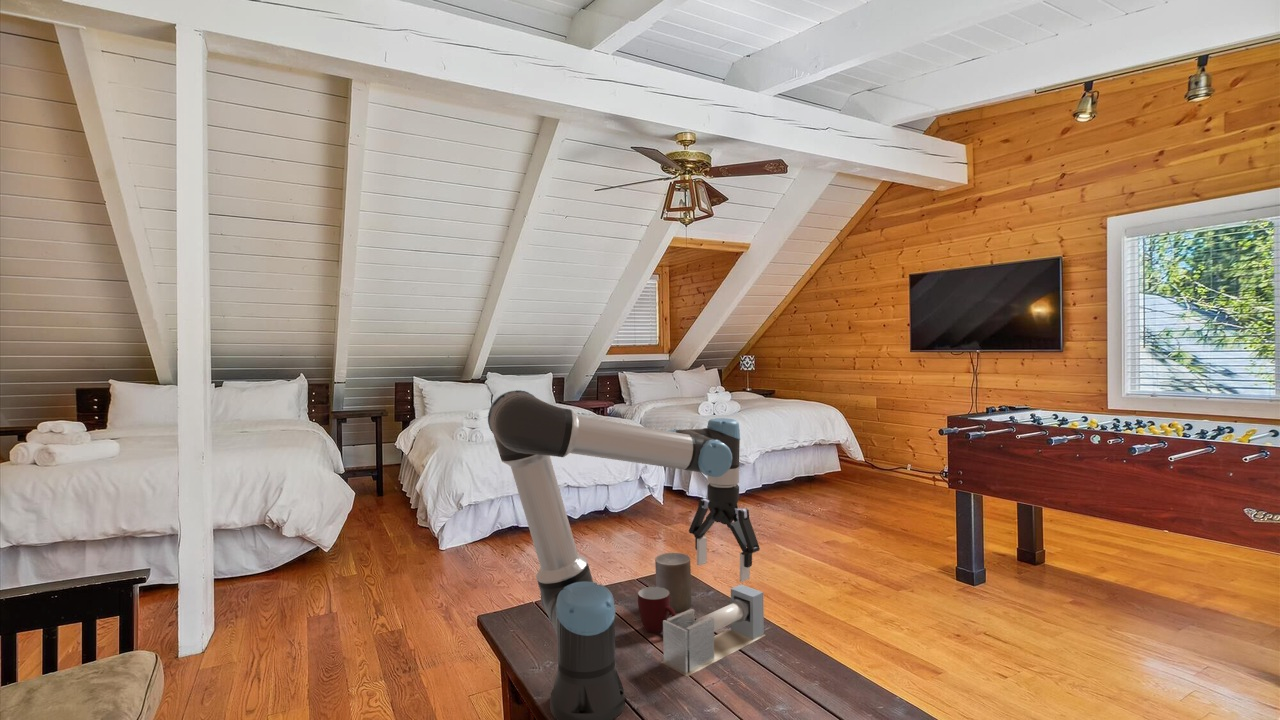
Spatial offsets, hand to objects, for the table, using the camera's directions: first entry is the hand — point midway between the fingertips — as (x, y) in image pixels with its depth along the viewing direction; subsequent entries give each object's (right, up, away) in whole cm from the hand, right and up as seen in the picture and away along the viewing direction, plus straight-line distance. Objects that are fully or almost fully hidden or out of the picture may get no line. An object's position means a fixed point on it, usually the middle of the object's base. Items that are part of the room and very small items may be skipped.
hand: (722, 571), depth 157 cm
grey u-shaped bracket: (-8, -18, -8) cm, 21 cm away
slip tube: (+1, -13, 0) cm, 13 cm away
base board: (-2, -18, -2) cm, 18 cm away
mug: (-15, -18, +7) cm, 25 cm away
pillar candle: (-11, -17, +22) cm, 30 cm away
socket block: (+7, -17, +5) cm, 19 cm away
